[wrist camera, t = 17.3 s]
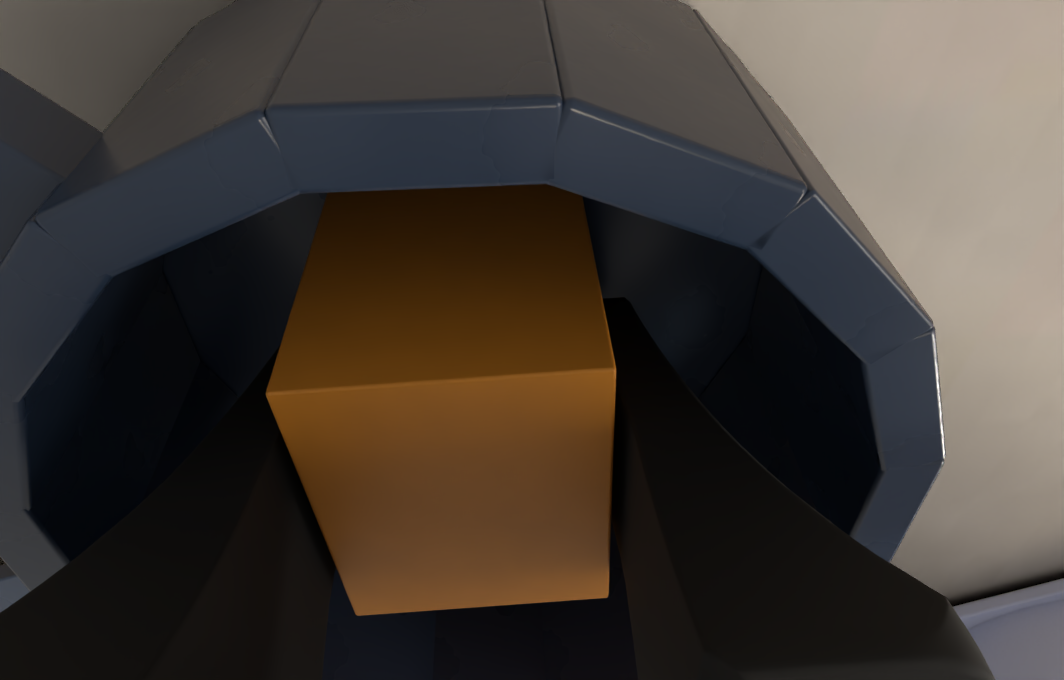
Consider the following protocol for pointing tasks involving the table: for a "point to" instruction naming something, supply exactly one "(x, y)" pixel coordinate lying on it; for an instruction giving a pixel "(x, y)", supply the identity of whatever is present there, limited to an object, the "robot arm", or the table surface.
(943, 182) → the table surface
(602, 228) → the pot
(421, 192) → the orange block
